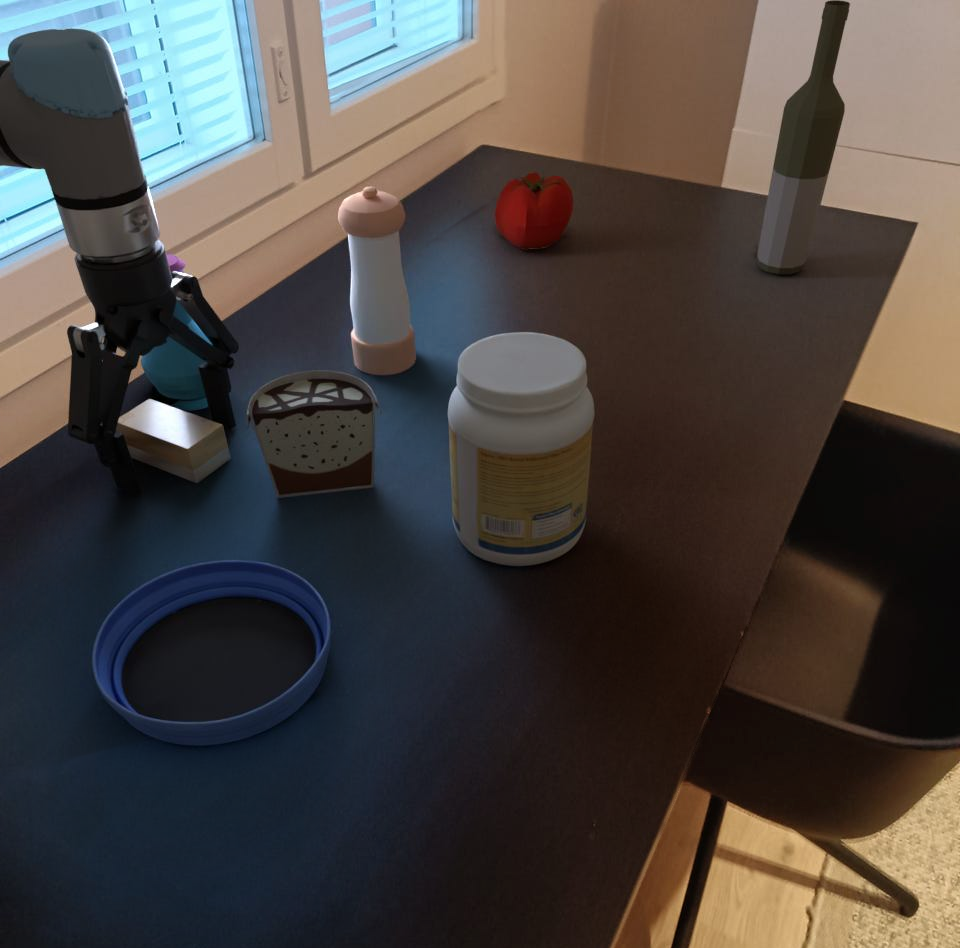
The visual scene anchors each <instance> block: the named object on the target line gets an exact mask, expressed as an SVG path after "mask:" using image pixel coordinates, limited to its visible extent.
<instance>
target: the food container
mask: <svg viewBox="0 0 960 948" xmlns="http://www.w3.org/2000/svg"><path fill="white" fill-rule="evenodd" d="M376 409H377V410H378V412H379V415H381V416H382V415H383V413H382V410H381V406H380V403H379V401H378V397H377V396H376V394H375V393H374V390H373V389H372V387H371V386H370V385H369V384H368V383H367V382H366V381H364V380H363V379H361V378H360V377H357V376H356V375H353V374H349V373H346V372H342V371H337V370H328V369H317V370H303V371H298V372H292V373H289V374H286V375H282V376H280V377H277V378H275V379H272V380H271V381H269V382H267V383H265V384H264V385H262V386H260V387H259V388H258V389H257V390H256V391H254V393H253V395H252V396H251V397H250V399H249V402H248V405H247V409H246V413H245V414H246V415H245V416H246V417H245V419H246V420H245V421H246V425H245V426H246V427H245V428H246V429H249V426H250V422H251V424H252V426H253V430H254V432H255V435H256V438H257V441H258V444H259V448H260V450H261V453H262V457H263V459H264V463H265V466H266V468H267V471H268V474H269V478H270V480H271V484H272V487H273V489H274V492H275V495H276V497H277V499H281V498H290V497H291V498H292V497H299V496H309V495H318V494H328V493H337V492H344V491H345V492H346V491H353V490H363V489H372V488H375V448H376V447H375V445H376V444H375V441H376V440H375V438H376V437H375V436H376Z"/></svg>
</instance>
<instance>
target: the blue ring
mask: <svg viewBox="0 0 960 948" xmlns="http://www.w3.org/2000/svg"><path fill="white" fill-rule="evenodd" d="M332 628H333V627H332V621H331V618H330V614H329V611H328V607H327V605H326V603H325V601H324V599H323V598H322V596H321V594H320V593H319V592H318V591H317V589H316V588H315V587H314V586H313V585H312V584H311V583H310V582H309V581H308V580H306V579H305V578H304V577H302V576H300V575H299V574H298V573H295V572H293V571H291V570H289V569H287V568H284V567H281V566H279V565H275V564H272V563H267V562H261V561H255V560H246V559H245V560H243V559H225V560H213V561H207V562H201V563H196V564H192V565H187V566H183V567H180V568H177V569H174V570H172V571H169V572H166V573H164V574H161V575H159V576H157V577H155V578H153V579H150V580H149V581H147V582H146V583H144V584H142V585H140V586H139V587H138V588H135V590H133V591H131V593H129V594H128V595H126V596H125V597H124V598H123V599H122V600H121V601H120V602H119V603H117V605H116V606H115V607H113V608H112V610H111V611H110V612H109V614H108V615H107V616H106V618H105V619H104V621H103V623H102V625H100V627H99V630H98V633H97V634H96V637H95V640H94V642H93V643H94V644H93V649H92V659H91V662H92V672H93V676H94V679H95V683H96V685H97V687H98V690H99V692H100V694H101V695H102V697H103V699H104V700H105V701H106V702H107V704H108V705H109V706H110V707H111V708H112V709H114V711H115V712H116V713H117V714H119V715H120V716H121V717H123V718H124V720H125V721H126V722H128V724H130V725H131V726H132V727H133V728H135V729H136V730H138V731H139V732H141V733H142V734H145V735H147V736H148V737H151V738H154V739H156V740H159V741H163V742H167V743H169V744H170V743H171V744H176V745H183V746H199V747H201V746H216V745H224V744H228V743H233V742H237V741H241V740H245V739H247V738H250V737H253V736H256V735H258V734H261V733H262V732H265V731H267V730H270V729H271V728H273V727H276V726H277V725H278V724H280V723H282V722H284V721H285V720H286V719H287V718H289V717H290V716H292V715H293V714H295V712H297V711H298V710H299V709H300V708H301V707H303V706H304V704H305V703H306V702H308V700H309V699H310V698H311V696H313V694H314V692H315V691H316V689H317V688H318V686H319V684H320V683H321V681H322V679H323V676H324V674H325V671H326V667H327V663H328V657H329V653H330V649H331V645H332V637H333V636H332V635H333V629H332Z"/></svg>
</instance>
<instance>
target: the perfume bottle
mask: <svg viewBox="0 0 960 948" xmlns="http://www.w3.org/2000/svg"><path fill="white" fill-rule="evenodd" d="M166 256H167V259H168V263H169V267H170V271H171V273H172V272H173V271H176V272H180V273H184V269H185V268H186V263H185V261H184V260H182V259H181V258H179V257H178V256H176V255H175V254H172V253H166ZM173 316H174V317H176V318H177V319H179V320H180V321H181V322H183V323H184V324H185V325H187V326H188V327H189V329H190V330H192V331H193V332H194V333H196V334H197V335H199V336H200V337H201V338H203V339H204V340H206V341H207V342H208V343H210V344H211V345H212V343H211V342H210V341H209V340H208V338H207V337H206V336H205V335H204V333H203V332H202V331H201V329H200V328H199V327H198V326H197V324H196V323H195V322H194V320H193V319H192V318H191V317H190V315H189V314H188V313H187V312H186V310H185V309H184V308H183V306H182V305H181V304H180V302H179V301H178V300H176V306H175V310H174V315H173ZM166 340H167V343H165V344H163V345H161V346H157V347H154V348H153V349H152V350H151V351H150V352H149V353H148V354H146V355H144V356H141V357H140V358H141V359H140V366H141V367H142V370H143V372H144V374H145V376H146V377H147V379H148V380H149V381H150V383H151V384H152V385H153V386H154V387H155V389H156V391H157V392H158V393H159V394H160V395H162V396H164V397H166V398H169V399H175V400H177V401H176V402H174V403H173V404H171V405H170V406H172V407H174V408H177V409H180V410H183V411H186V412H188V411H189V412H190V411H198V410H203V409H207V408H209V407H208V403H207V399H206V395H205V392H204V388H203V384H202V380H201V376H200V372H199V368H198V367H199V366H200V365H202V364H206V365H207V362H206V361H204V360H202V359H201V358H199V357H198V356H196V355H195V354H194V353H192V352H191V351H189V350H188V349H186V348H185V347H183V346H182V345H180V344H179V343H177V342H176V341H174V340H173V339H171V338H170V337H169V336H168V338H167V339H166ZM227 370H228V368H227Z"/></svg>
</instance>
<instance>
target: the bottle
mask: <svg viewBox="0 0 960 948" xmlns="http://www.w3.org/2000/svg"><path fill="white" fill-rule="evenodd" d="M850 7H851V3H850V2H849V1H845V0H827V1H825V2H824V6H823V9H822V14H821V23H820V27H819V28H820V29H819V33H818V38H817V42H816V47H815V52H814V57H813V61H812V66H811V71H810V74H809V77H808V79H807V80H806V82H805V83H803V84H802V86H800V87H799V89H797V90H796V91H795V92H794V93H792V95H791V96H790V97H789V98H788V99H787V100H786V102H785V104H784V107H783V111H782V118H781V122H780V128H779V133H778V139H777V143H776V144H777V145H776V150H775V155H774V161H773V165H772V171H771V178H770V183H769V188H768V194H767V199H766V205H765V210H764V215H763V221H762V226H761V232H760V237H759V243H758V248H757V252H756V264H757V267H758V268H760V269H761V270H763V271H765V272H767V273H770V274H774V273H775V274H774V275H793V274H796V273H799V272H801V271H802V269H803V268H804V267H805V265H806V263H807V260H808V255H809V252H810V248H811V245H812V239H813V236H814V231H815V228H816V224H817V220H818V217H819V212H820V209H821V205H822V202H823V197H824V193H825V189H826V185H827V182H828V178H829V175H830V170H831V166H832V162H833V159H834V155H835V150H836V147H837V143H838V138H839V135H840V132H841V127H842V124H843V120H844V115H845V110H846V109H845V108H846V107H845V106H846V105H845V102H844V100H843V98H842V96H841V94H840V93H839V91H838V89H837V87H836V84H835V82H834V75H835V70H836V66H837V62H838V57H839V54H840V53H839V52H840V48H841V45H842V40H843V35H844V30H845V27H846V23H847V20H848V16H849V12H850Z"/></svg>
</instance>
